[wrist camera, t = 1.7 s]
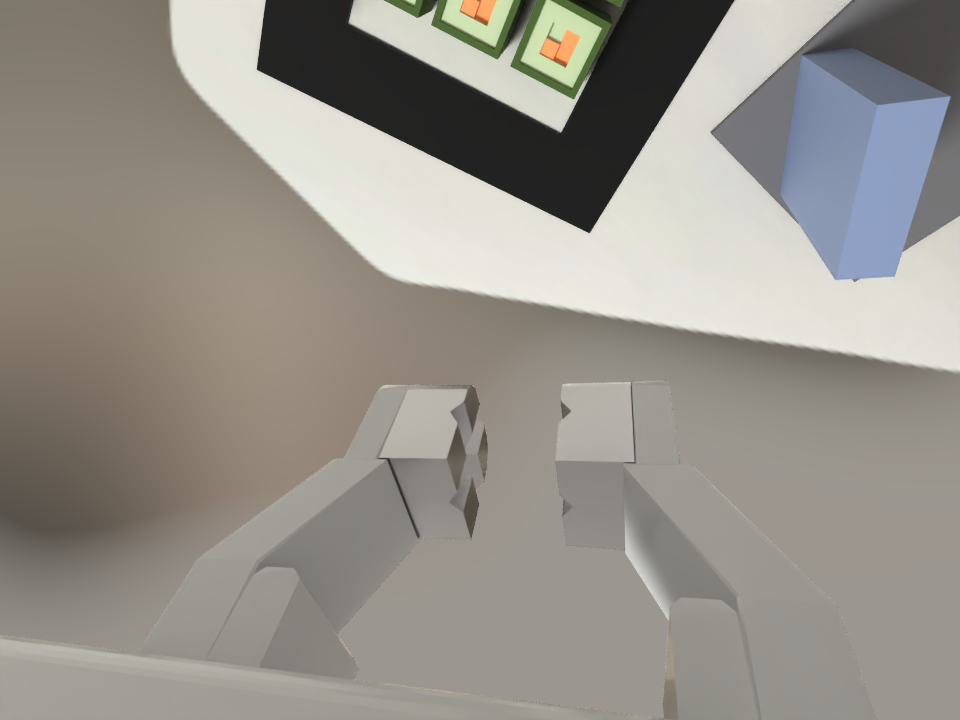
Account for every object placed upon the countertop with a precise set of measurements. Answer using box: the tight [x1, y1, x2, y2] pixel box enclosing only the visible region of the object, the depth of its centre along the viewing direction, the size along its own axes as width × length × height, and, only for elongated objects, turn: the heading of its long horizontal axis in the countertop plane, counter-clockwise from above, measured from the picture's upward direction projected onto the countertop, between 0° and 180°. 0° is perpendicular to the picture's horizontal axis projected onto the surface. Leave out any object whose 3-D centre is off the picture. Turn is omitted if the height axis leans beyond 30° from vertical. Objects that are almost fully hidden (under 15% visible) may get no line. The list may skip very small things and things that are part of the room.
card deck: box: [780, 48, 951, 280], centre depth 28 cm, size 3×8×11 cm, turn 10°
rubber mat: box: [711, 0, 960, 282], centre depth 31 cm, size 16×15×1 cm
